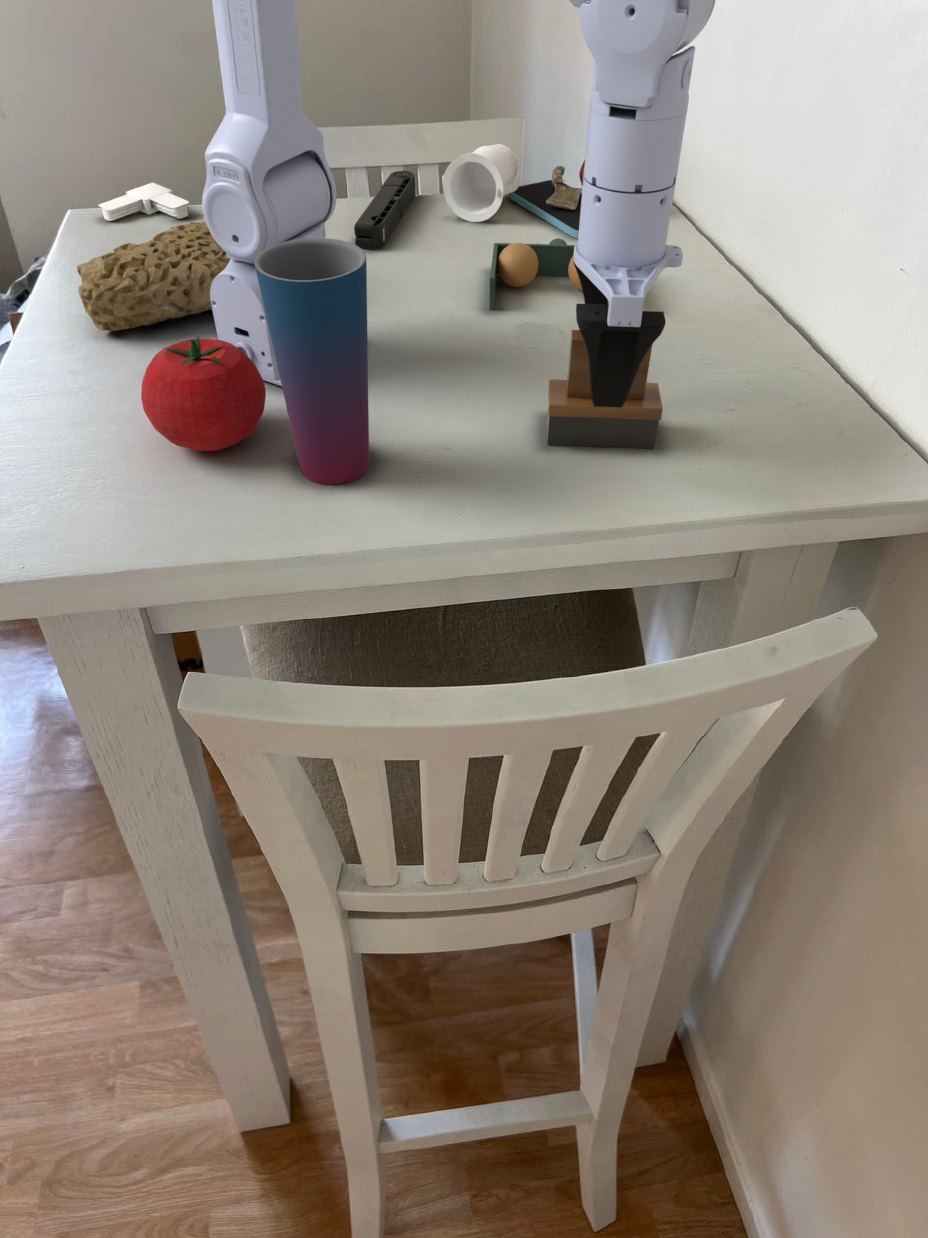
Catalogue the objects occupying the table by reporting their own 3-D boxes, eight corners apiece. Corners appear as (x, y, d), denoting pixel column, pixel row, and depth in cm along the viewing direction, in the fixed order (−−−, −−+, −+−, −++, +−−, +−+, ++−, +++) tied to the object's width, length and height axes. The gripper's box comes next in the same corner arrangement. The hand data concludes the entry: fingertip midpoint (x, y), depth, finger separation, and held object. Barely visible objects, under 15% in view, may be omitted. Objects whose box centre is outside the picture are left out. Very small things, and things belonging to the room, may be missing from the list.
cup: (268, 475, 64) (231, 267, 53) (322, 431, 68) (297, 230, 58) (348, 502, 61) (325, 289, 51) (398, 454, 66) (387, 249, 55)
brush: (655, 450, 66) (673, 350, 61) (545, 445, 67) (553, 346, 61) (651, 423, 69) (667, 325, 64) (545, 419, 69) (553, 321, 64)
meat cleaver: (592, 206, 99) (550, 202, 98) (590, 217, 100) (547, 213, 99) (570, 164, 107) (530, 160, 106) (567, 175, 108) (528, 171, 107)
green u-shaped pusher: (626, 313, 83) (630, 282, 81) (489, 309, 84) (490, 278, 82) (618, 264, 91) (622, 234, 89) (494, 260, 92) (495, 231, 90)
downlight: (503, 228, 99) (527, 202, 106) (510, 160, 94) (535, 138, 101) (436, 215, 101) (464, 191, 108) (439, 148, 96) (468, 127, 103)
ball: (591, 280, 89) (602, 303, 87) (556, 271, 87) (567, 294, 85) (610, 244, 86) (623, 266, 84) (575, 233, 85) (587, 256, 82)
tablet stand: (393, 168, 105) (417, 170, 105) (394, 192, 107) (418, 193, 107) (352, 224, 93) (380, 226, 92) (354, 249, 94) (381, 251, 94)
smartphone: (578, 233, 96) (505, 188, 105) (577, 243, 96) (504, 198, 105) (632, 220, 98) (555, 178, 107) (631, 230, 99) (555, 187, 108)
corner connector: (135, 222, 96) (139, 237, 97) (195, 199, 100) (198, 214, 102) (93, 203, 100) (97, 217, 101) (152, 182, 104) (156, 196, 105)
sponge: (110, 364, 78) (320, 284, 81) (63, 276, 74) (288, 194, 76) (109, 327, 89) (295, 258, 91) (68, 248, 84) (265, 177, 86)
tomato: (287, 453, 66) (271, 352, 60) (168, 482, 63) (140, 380, 58) (254, 398, 72) (237, 302, 66) (143, 423, 69) (115, 325, 63)
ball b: (504, 291, 85) (531, 257, 83) (482, 263, 86) (507, 229, 84) (527, 298, 88) (553, 266, 86) (505, 271, 90) (530, 238, 87)
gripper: (710, 222, 50) (670, 432, 59) (681, 144, 60) (652, 333, 70) (583, 218, 50) (564, 428, 59) (577, 141, 61) (561, 330, 70)
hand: (605, 377), depth 65 cm, fingers open, 7 cm apart
